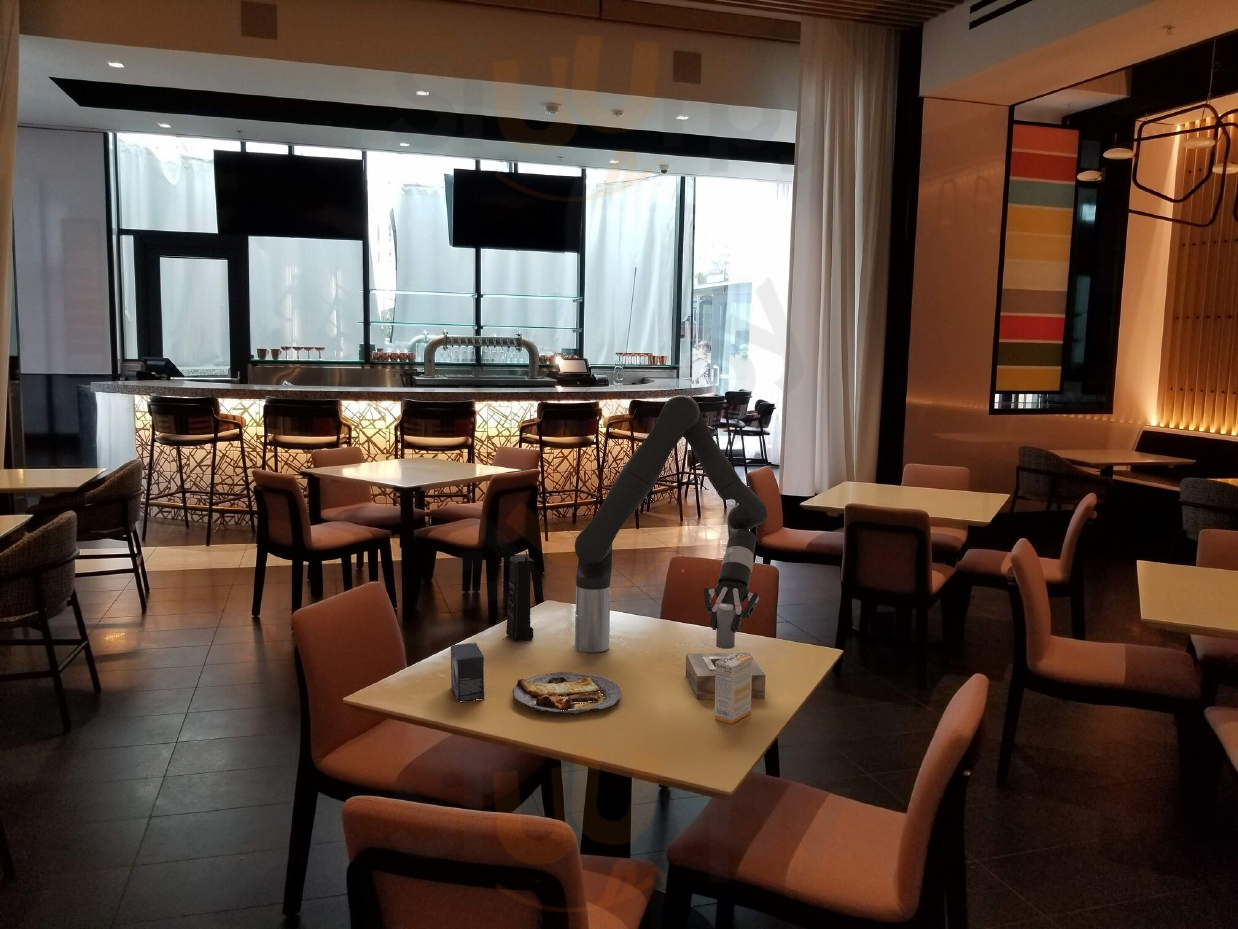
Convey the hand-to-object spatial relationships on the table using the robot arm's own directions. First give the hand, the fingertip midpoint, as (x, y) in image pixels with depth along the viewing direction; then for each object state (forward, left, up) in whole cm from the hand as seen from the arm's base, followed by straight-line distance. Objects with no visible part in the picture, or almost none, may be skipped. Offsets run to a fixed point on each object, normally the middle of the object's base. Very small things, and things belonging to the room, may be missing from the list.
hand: (724, 629), depth 213 cm
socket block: (+1, +2, -15) cm, 15 cm away
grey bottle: (+1, +2, -5) cm, 5 cm away
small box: (-60, 0, -15) cm, 62 cm away
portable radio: (-49, +42, -15) cm, 66 cm away
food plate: (-37, -4, -15) cm, 40 cm away
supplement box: (-1, -17, -15) cm, 22 cm away
